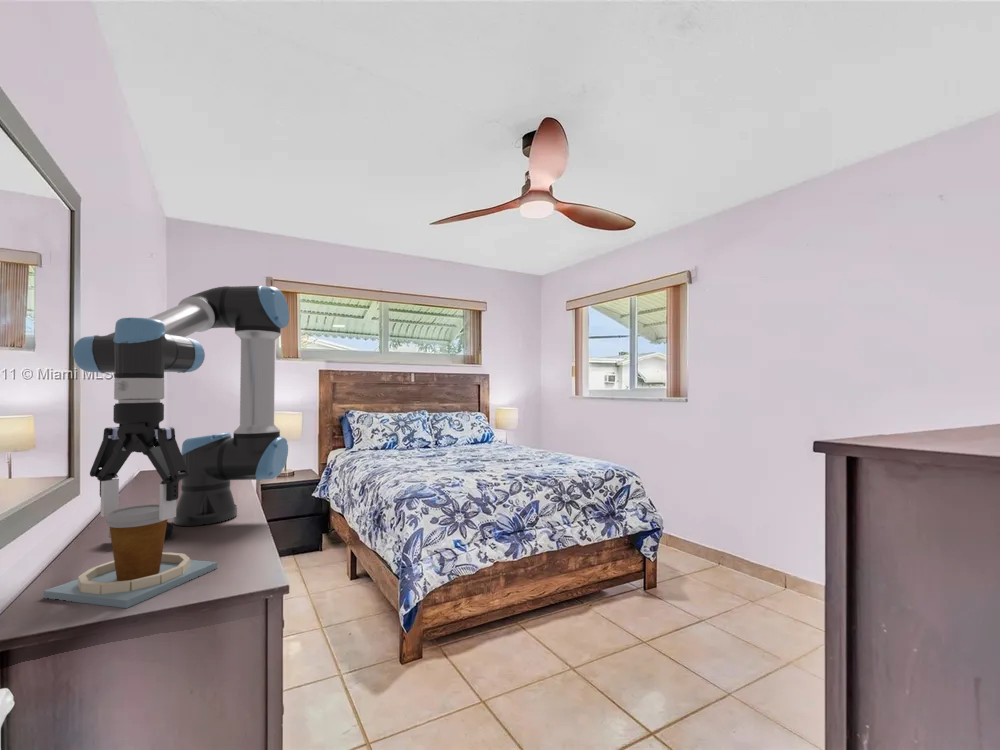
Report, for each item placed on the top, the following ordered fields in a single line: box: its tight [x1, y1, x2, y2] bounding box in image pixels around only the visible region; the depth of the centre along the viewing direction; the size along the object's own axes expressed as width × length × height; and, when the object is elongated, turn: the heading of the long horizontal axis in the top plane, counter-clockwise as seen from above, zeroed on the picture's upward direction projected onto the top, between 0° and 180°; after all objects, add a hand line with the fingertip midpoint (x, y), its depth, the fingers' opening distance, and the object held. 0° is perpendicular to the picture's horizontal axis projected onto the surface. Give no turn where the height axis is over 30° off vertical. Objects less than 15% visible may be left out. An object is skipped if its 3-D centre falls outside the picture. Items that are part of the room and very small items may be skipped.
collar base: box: [42, 551, 218, 609], centre depth 89 cm, size 18×18×3 cm
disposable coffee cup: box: [105, 503, 169, 581], centre depth 89 cm, size 10×10×12 cm
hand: (138, 516), depth 89 cm, fingers open, 13 cm apart
